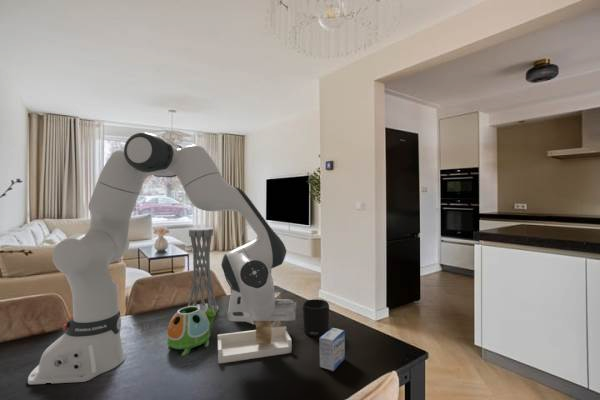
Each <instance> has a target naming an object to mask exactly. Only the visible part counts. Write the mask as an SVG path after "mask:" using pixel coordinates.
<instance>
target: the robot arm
mask: <svg viewBox="0 0 600 400" xmlns="http://www.w3.org/2000/svg"><path fill="white" fill-rule="evenodd" d="M123 147H124V148H123V149H118V150H115V151H113V152H112V153H111V155H110V156H109V158H108V159H107V160H106V163H105V165H104V166H103V168H102V170H101V172H100V174H99V176H98V178H97V181H96V184H95V187H94V189H93V192H92V195H91V197H90V200H89V203H88V206H87V207H88V210H89V212H90V215H91V216H90V225H89V228H88V230H87V231H85V232H78V233H75V234H72V235H70V236H68V237H66V238H65V239H63V240H61V241H59V242H58V243H57V244H56V245H55V247H54V248H53V250H52V255H51V256H52V257H51V259H52V263H53V265H54V266H55V268H56V270H58V271H59V272H61V273H62V274H63V275H64V276H65V278H66V279H67V282H68V284H69V287H70V291H71V295H72V315H71V316H70V317H69V319H68V320H67V321H66V322H65V324H64V325H63V326H62V327H63V329H62V331H65V333H63V334H62V335H61V336H60V337H59V338H57V339H56V340H55V341H54V342H52V343H51V344H50V345H49V346H48V347H47V348H46V349H45V350H44V351H43V353H42V355H41V357H40V359H39V364H38V365H37V366H35V368H34V369H32V371H31V372H30V374H29V375H28V377H27V384H28V385H45V384H46V383H51V384H65V383H67V384H68V383H83V382H84V383H85V382H87V381H90V380H92V379H94V378H95V377H97V376H99V375H102V374H104V373H107V372H108V371H110V370H111V371H112V370H113V369H114V368H116V367H118V366H119V365H121V364H122V363H123V362H124V360H125V359H126V356H127V355H126V353H125V350H124V347H123V343H122V338H121V328H122V317H121V310H119V286H118V284H117V283H116V282H115V281H114V280H113V278H112V275H111V272H110V269H109V266H110V264H112V263H114V262H117V261H118V260H120V258H122V257H123V256H124V255H125V254H126V253H127V251H128V250H129V247H130V239H129V237H128V236H129V228H130V221H131V217H132V214H133V212H134V208H135V205H136V203H137V200H138V198H139V195H140V192H141V189H142V186H143V184H144V182H145V180H146V179H147V178H149V177H150V176H154V177H156V178H175V177H177V178H178V179H179V182H180V183H181V186H182V188H183V190H184V192H185V194H186V196H187V198H188V199H189V201H190V203H191V204H192V206H194V207H195V208H197V209H199V210H202V211H205V212H226V211H228V212H235V213H239V214H241V216H242V217H243V219H245V220H246V222H247V223H248V225H249V226H250V227H251V229H252V230H253V232H254V233H255V234H256V235H257V236H256V238H255V239H253V240H250V241H248V242H246V243H244V244H242V245H239V246H237V247H235V248H234V249H231V250H229V251H228V252H226V253H224V255H223V256H222V260H221V264H220V265H221V268H222V271H223V273H224V278H225V280H226V282H227V284H228V285H229V287H230V289H231V288H232V289H233V290H235V291H234V292H232V293H231V292H230V297H229V302H228V309H227V315H226V316H227V320H228V321H230V322H244V321H249V322H251V323H252V325H253V326H254V324H256V321H271V324H275V322H277V321H281V322H287V321H288V322H290V321H295V320H296V318H297V316H296V315H297V310H296V309H297V307H298V306H297V305H298V304H297V302H295V301H293V300H292V299H287V298H284V299H282V298H281V299H275V292H276V291H275V284H274V278H273V275H272V272H271V273H270V270H269V269H271V270H272V269H274V268H276V267H278V266H280V265H282V264H283V263H284V261H285V259H286V255H287V247H286V246H285V244H284V242H283V241H282V239H281V238H280V236H279V235H278V234H277V233H276V232H275V231H274V230H273V228H271V226H270V225H269V224H268V222H267V221H266V219H265V218H264V216H263V215H262V213H260V210H259V209H257V207H256V206H255V204H254V203H253V202H252V200H251V199H250V198H249V197H248V195H247V194H246V193H245V192H244V191H243V190H242V189H241V188H240V187H236V186H233V185H231V184H230V183H228V182H227V181H226V180H225V179H224V177H223V176H222V174H221V172H220V170H219V169H218V167H217V165H216V163H215V161H214V160H213V158H212V157H211V156H210V154H209V153H208V151H207V150H206V149H205V148H204V147H203V146H201V145H198V144H191V145H186V146H184V147H182V146H181V145H179V144H176V143H175V142H173V141H172V140H170V139H168V138H164V137H161V136H159V135H156V134H155V133H151V132H137V133H135V134H132V135H131V136H130V137H129V138H128V139H127V140H126V142H125V144H124V146H123ZM251 323H250V324H251Z"/></svg>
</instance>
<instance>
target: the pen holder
mask: <svg viewBox="0 0 600 400" xmlns="http://www.w3.org/2000/svg"><path fill="white" fill-rule="evenodd" d="M302 317H303V318H302V319H303V321H302V322H303V331H304V333H305V334H306V335H307V336H310V337H319V338H320V337H321V336H323V335H324V334H325V333H326V332H327V331H329V319H330V318H329V317H330V305H329V302H328V301H327V300H323V299H318V298H317V299H315V298H314V299H307V300H305V301H304V303H303V305H302Z"/></svg>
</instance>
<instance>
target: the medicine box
mask: <svg viewBox="0 0 600 400" xmlns="http://www.w3.org/2000/svg"><path fill="white" fill-rule="evenodd" d="M345 334H346V333H345V330H344V329H340V328H337V327H336V328H335V327H331V328H330V329H328V331H327V332H326V333H325V334H324V335H323V336H319V367H320V368H323V369H326V370H329V371H331V372H334V371H336V369H337V368H338V367H339V366H340V365H341V363H342V362H343V361H344V360H345V358H346V355H345V354H346V353H345V351H346V349H345V346H346V342H345V340H346V339H345Z"/></svg>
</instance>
